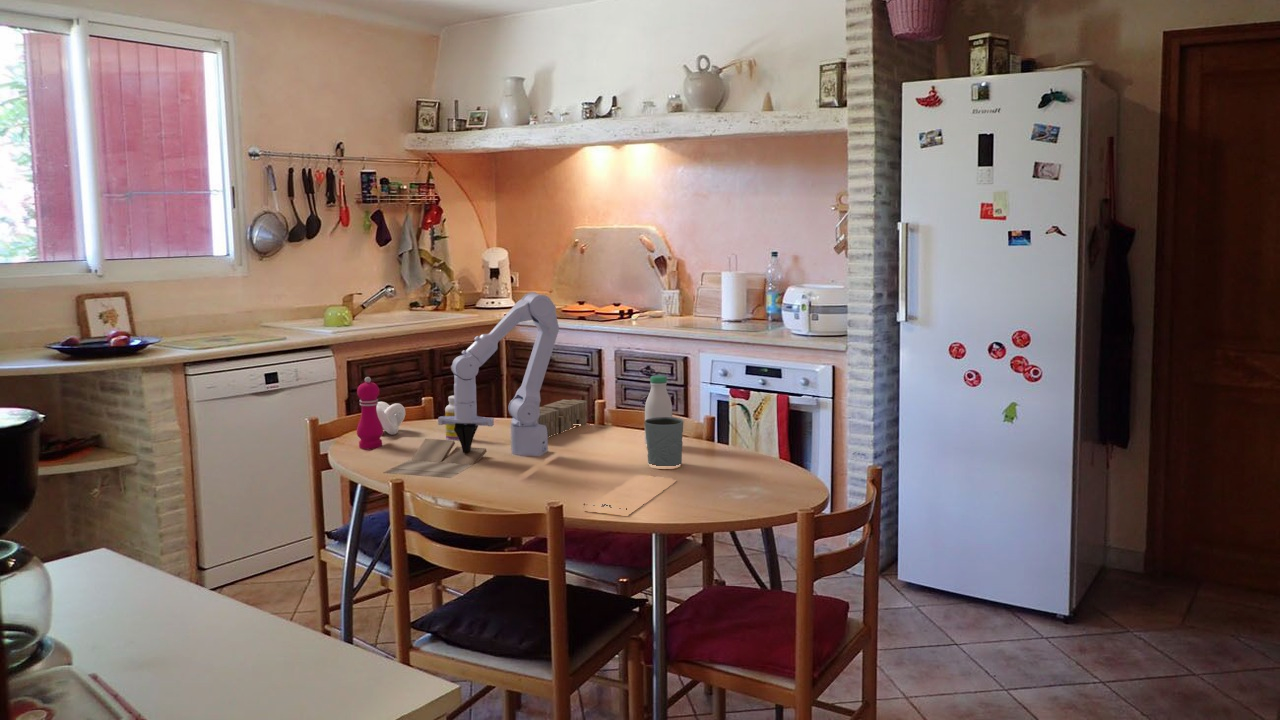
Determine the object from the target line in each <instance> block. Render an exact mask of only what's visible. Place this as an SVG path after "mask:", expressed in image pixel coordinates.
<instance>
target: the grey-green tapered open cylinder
mask: <svg viewBox="0 0 1280 720" xmlns="http://www.w3.org/2000/svg"><path fill="white" fill-rule="evenodd" d="M683 431H684V420H683V418H680V417H679V418H678V417H675V416H672V417H657V418H650V419H647V420H645V419H644V433H645V432H646V440H647V447H646V450H647V463H649V464H652V465H656V466H676V465H679V464H681V465H682V461H683V453H682V452H683V437H684V436H683V434H684V433H683Z"/></svg>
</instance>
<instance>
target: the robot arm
mask: <svg viewBox="0 0 1280 720" xmlns="http://www.w3.org/2000/svg"><path fill="white" fill-rule="evenodd" d="M556 311H557V306H556V305H555V304H554V302H553V301H552V300H551V298H550V297H549V296H547V295H545V294H540V293H539V294H538V293H537V292H533V291H531V292H528V293H527V292H526V294H525V295H523V297H522V298H521V299H519V300H518V301H516V302H515V304H514V305H513V306H512V307H511V308H510V309H509V311H508V312H507V313H506V314H505V315H504V316H503V317H502V319H500V320H499V322H498V323H497V324H496V325H495V326H494V327H493V329H491V331H490V332H489V333H482V334H481V335H476V336H475V337H474V342H472V343H471V344H470V346H468V347H467V349H465V350H464V349H463V350H462V351H461V355H459V356H456V357H455V358H454V359H453V361H452V364H451V365H450V370H451V372H452V373H453V376H454V377H453V378H454V379H453V381H454V384H453V395H454V404H455V416H445V415H443V416H439V417H437V424H438V426H442V425H445V426H446V425H455V428H454V431H455V432H456V434H457V436H458V438H459V440H460V441H459V443H460V447H462V450H463V453H469V452H470V450H471V447H472V444H473V441H474V440H473V439H474V436H475V434H476V432H477V430H478V427H479V426H484V427H485V426H487V427H493V426H494V425H495V424H494V423H495V421H494V419H495V418H494V417H485V416H479V415H478V413H477V412H478V411H477V384H476V383H477V382H476V376H477V375H478V374H479V372H480V371H479V370H480V369H479V368H480V367H482V366H483V365H484V364H485V363H486V362H487V361H488V360H489V359H490V358H491V357H492V355H494V354H495V352H497V351H498V349H499V347H498V343H499V342H500V341H501V340H502V339H503V338H504V337H506V335H508V333H510V332H511V331H512V330H513V329H514V328H515V327H516V326H517V325H518V324H519V323H521V322H527V321H532V322H533V324H534V325H535V327H536V328H537V333H536V334H537V335H536V337H535V340H534V343H533V346H532V351H531V354H530V356H529V359H528V363H527V366H526V369H525V373H524V376H523V379H522V383H521V384H520V385H521V386H519V388H517V391H516V392H515V395H514V396H513V398H512V399H511V400H510V401H509V403H508V413H509V415H510V416H511V417H512V418H511V421H510V441H511V442H510V444H511V445H510V446H511V448H510V450H511V455H514V456H524V457H525V456H526V457H527V456H528V457H529V456H530V457H541V456H543V455H544V454H545V453H548V452H549V449H548V447H549V441H548V439H549V438H548V435H547V428H546V426H545V425H540V424H538V418H539V416H540V410H539V407H540V405H541V404H540V403H541V401H542V400H541V393H540V391H541V389H542V386H543V382H544V379H545V375H546V374H547V373H546V372H547V369H548V366H549V363H550V360H551V357H552V353H553V350H554V347H555V343H556V340H557V337H558V334H559V331H560V326H559V321H558V318H557V317H558V316H557V312H556Z"/></svg>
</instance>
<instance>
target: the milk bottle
mask: <svg viewBox="0 0 1280 720" xmlns="http://www.w3.org/2000/svg"><path fill="white" fill-rule="evenodd" d="M649 380H650V381H649V382H650V384H649V385H650V390H649V394H648V396H647V398H646V400H645V404H644V421H645V420H647V419H650V418H657V417H673V405H672V404H673V403H672V401H671V400H672V399H671V398H670V395H669V393H668V390H667V384H668V383H667V382H668V378H667V376H666V375H660V374H659V375H658V374H656V375H651V376H650V379H649ZM645 444H647V440H646V432H645V431H644V445H645Z"/></svg>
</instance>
